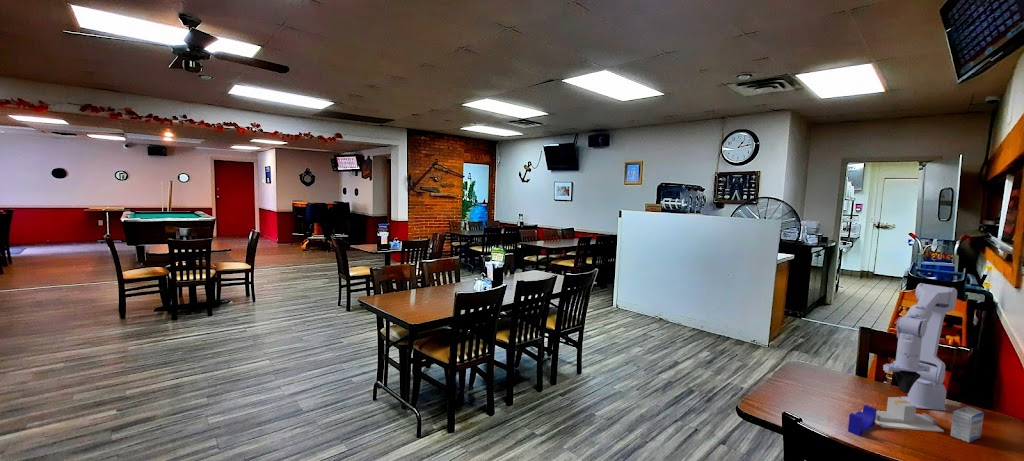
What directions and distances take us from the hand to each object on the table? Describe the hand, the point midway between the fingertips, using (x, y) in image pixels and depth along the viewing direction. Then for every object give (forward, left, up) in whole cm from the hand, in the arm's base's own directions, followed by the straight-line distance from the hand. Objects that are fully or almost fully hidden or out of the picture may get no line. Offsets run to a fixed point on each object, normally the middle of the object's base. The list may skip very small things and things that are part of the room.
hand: (903, 391), depth 143 cm
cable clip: (+17, +6, -11) cm, 21 cm away
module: (0, 0, -9) cm, 9 cm away
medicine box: (-14, +7, -11) cm, 19 cm away
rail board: (0, 0, -10) cm, 10 cm away
